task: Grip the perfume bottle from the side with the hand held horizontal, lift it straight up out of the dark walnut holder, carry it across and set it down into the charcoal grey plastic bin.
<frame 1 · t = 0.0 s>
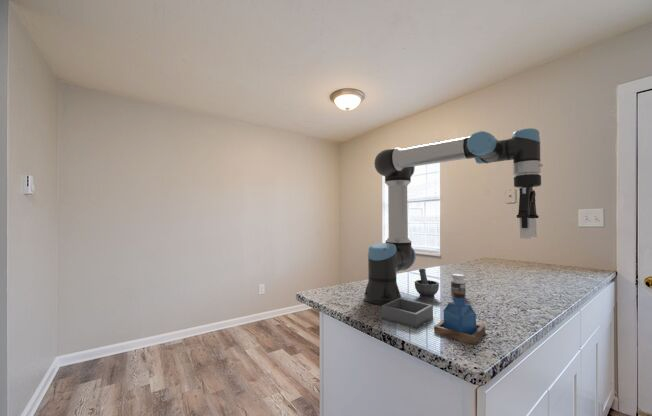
hand: (528, 237, 94), 28 cm above the worktop, tool pointing down, fingers open, 13 cm apart
bin: (407, 318, 95), on the worktop
perfume bottle: (459, 333, 83), resting in holder
mortar and pestle: (426, 298, 120), on the worktop
pill bottle: (458, 298, 120), on the worktop
holder: (459, 332, 83), on the worktop
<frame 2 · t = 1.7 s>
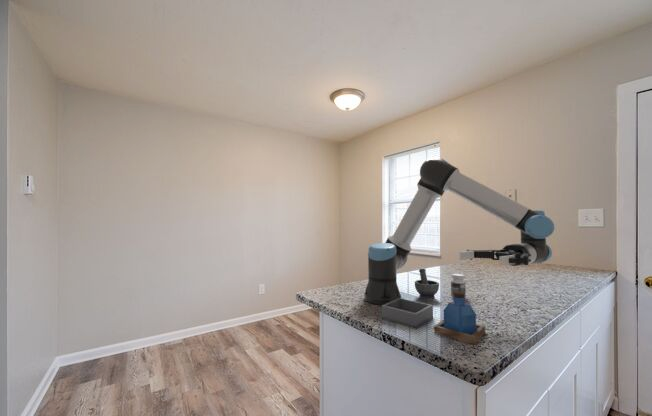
hand: (479, 258, 88), 22 cm above the worktop, tool horizontal, fingers open, 13 cm apart
nothing on the worktop moved.
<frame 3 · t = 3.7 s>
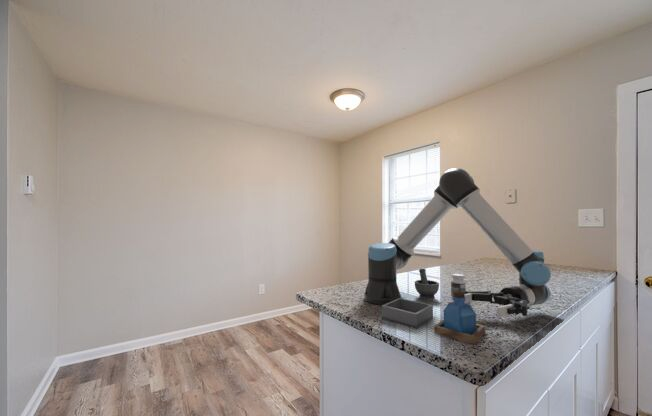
hand: (476, 305, 86), 7 cm above the worktop, tool horizontal, fingers open, 13 cm apart
nothing on the worktop moved.
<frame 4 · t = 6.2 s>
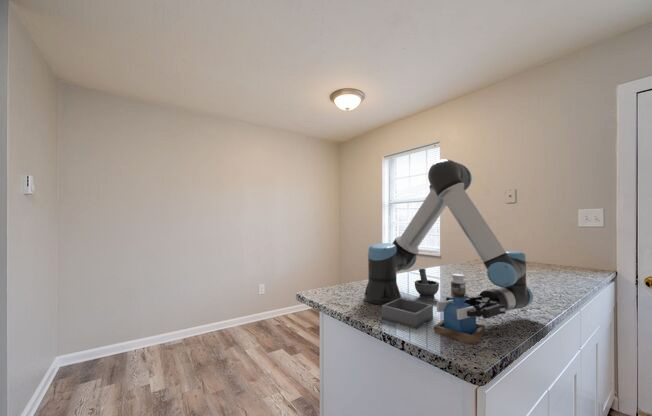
hand: (447, 310, 81), 7 cm above the worktop, tool horizontal, fingers closed on perfume bottle, 6 cm apart
perfume bottle: (459, 333, 83), resting in holder, touching gripper
everything else where it was.
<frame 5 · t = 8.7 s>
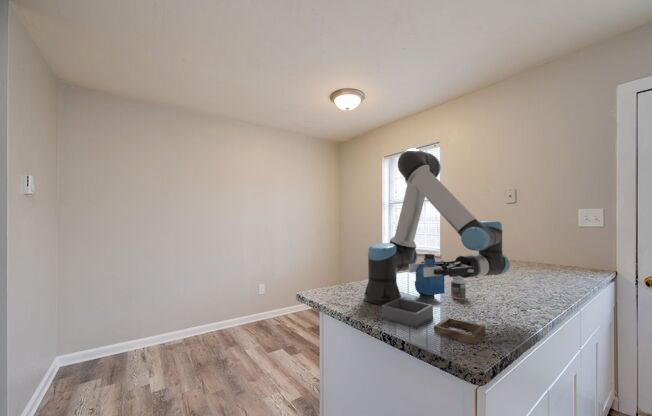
hand: (416, 270, 88), 18 cm above the worktop, tool horizontal, fingers closed on perfume bottle, 6 cm apart
perfume bottle: (429, 292, 90), point 10 cm above the worktop, touching gripper
everything else where it was.
when the fingers open (10 cm above the worktop, at t = 11.1 s): perfume bottle drops 2 cm, resting on bin.
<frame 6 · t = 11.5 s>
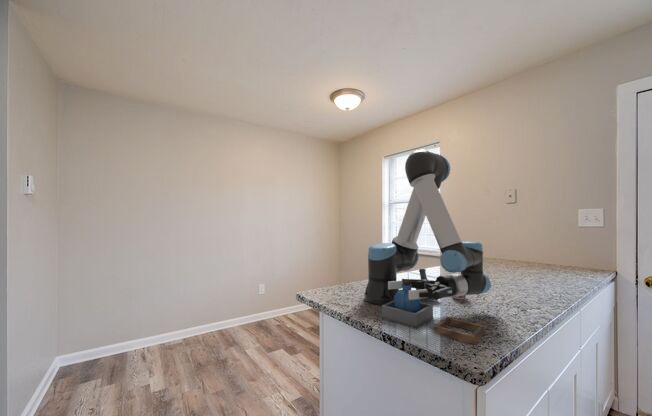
hand: (398, 289, 94), 10 cm above the worktop, tool horizontal, fingers open, 12 cm apart
perfume bottle: (407, 316, 95), point 1 cm above the worktop, touching bin
everything else where it was.
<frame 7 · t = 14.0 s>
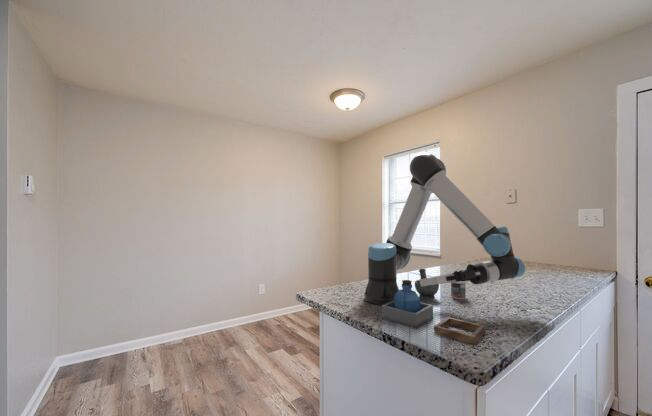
hand: (427, 281, 100), 11 cm above the worktop, tool horizontal, fingers open, 13 cm apart
nothing on the worktop moved.
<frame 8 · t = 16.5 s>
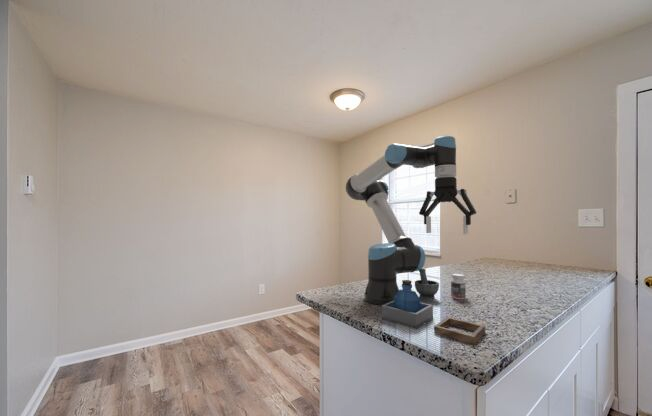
hand: (446, 233, 104), 29 cm above the worktop, tool pointing down, fingers open, 13 cm apart
nothing on the worktop moved.
at the end: perfume bottle inside the target area on the bin (0.1 cm from its centre), point 0.6 cm above the bin's base; the gripper is holding nothing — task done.
